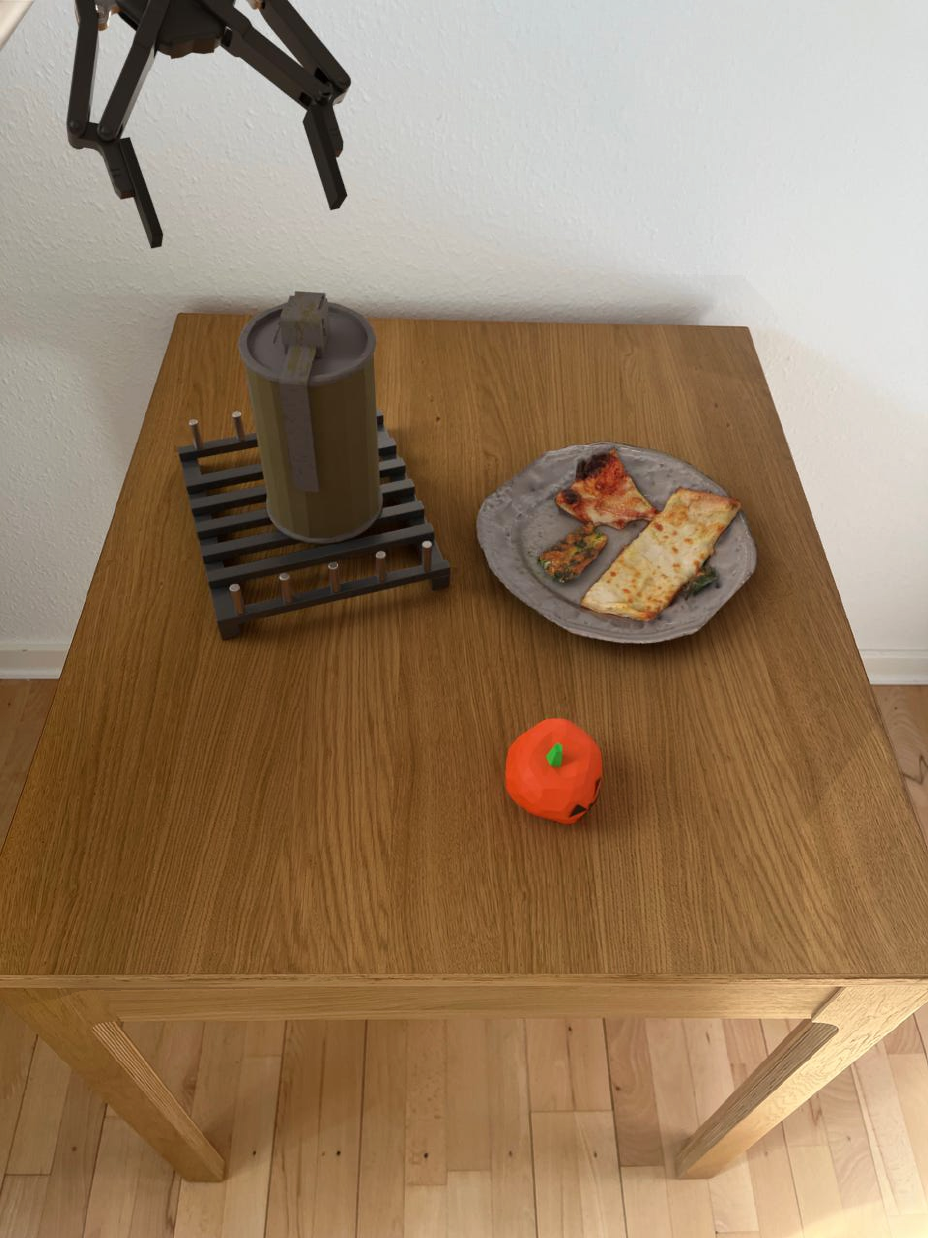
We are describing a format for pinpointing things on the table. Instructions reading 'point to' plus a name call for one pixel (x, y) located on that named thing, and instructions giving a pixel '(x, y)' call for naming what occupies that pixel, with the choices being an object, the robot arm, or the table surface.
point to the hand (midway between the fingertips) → (251, 222)
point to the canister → (315, 416)
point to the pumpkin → (554, 771)
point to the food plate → (617, 542)
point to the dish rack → (216, 552)
